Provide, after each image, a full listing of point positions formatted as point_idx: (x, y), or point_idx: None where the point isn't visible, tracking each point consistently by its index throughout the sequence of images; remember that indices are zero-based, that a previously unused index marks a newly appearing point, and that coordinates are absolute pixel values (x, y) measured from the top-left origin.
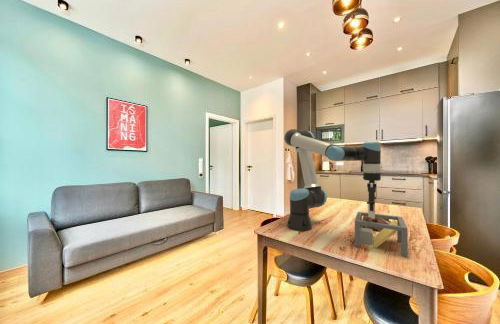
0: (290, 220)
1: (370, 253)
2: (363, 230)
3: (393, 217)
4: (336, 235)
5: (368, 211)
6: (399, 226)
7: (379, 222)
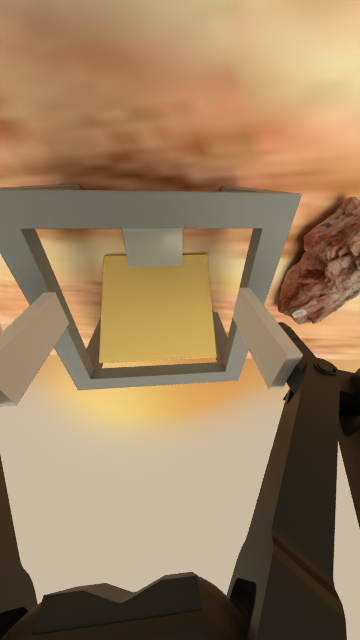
0: None
1: (47, 246)
2: (136, 228)
3: (226, 360)
4: (152, 36)
5: (19, 317)
6: (80, 376)
7: (309, 286)
